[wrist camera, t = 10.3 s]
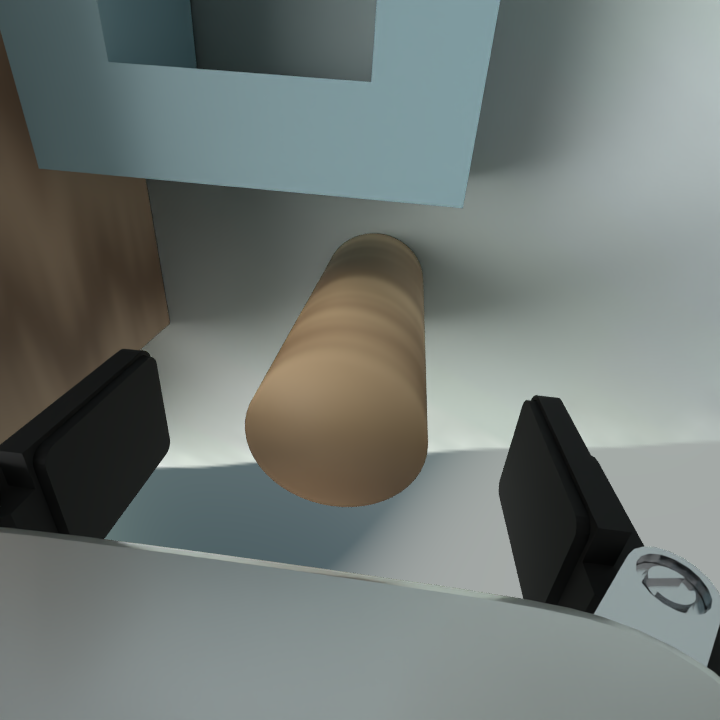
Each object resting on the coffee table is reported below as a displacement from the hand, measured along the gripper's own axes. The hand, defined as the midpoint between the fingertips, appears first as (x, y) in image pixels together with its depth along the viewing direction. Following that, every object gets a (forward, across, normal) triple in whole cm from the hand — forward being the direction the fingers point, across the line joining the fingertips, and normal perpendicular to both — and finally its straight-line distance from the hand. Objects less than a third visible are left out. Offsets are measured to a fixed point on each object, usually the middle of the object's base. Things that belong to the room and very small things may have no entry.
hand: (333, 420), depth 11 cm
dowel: (+8, 0, -1) cm, 8 cm away
